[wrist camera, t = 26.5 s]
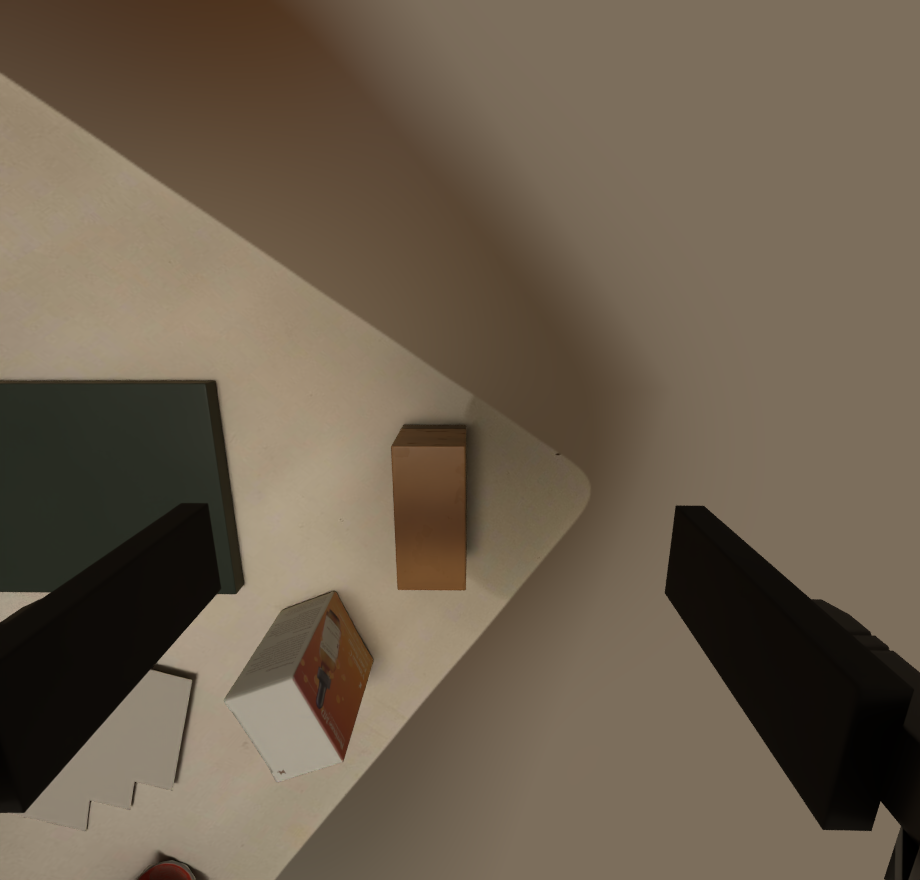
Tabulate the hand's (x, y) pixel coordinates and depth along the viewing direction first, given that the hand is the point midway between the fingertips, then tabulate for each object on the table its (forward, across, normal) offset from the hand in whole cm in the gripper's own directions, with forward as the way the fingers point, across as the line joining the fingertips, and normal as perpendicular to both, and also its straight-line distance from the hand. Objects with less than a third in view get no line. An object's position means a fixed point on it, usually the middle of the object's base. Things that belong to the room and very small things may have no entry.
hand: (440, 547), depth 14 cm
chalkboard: (+25, -31, -8) cm, 40 cm away
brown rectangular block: (+25, -2, -8) cm, 26 cm away
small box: (+25, -12, -22) cm, 35 cm away
